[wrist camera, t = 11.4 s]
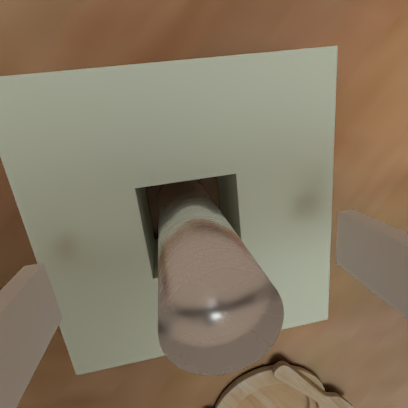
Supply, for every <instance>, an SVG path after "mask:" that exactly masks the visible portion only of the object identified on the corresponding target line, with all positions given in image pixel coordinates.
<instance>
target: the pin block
mask: <svg viewBox="0 0 408 408" xmlns="http://www.w3.org/2000/svg"><path fill="white" fill-rule="evenodd" d="M336 75H337V46H329V47H318V48H307V49H296V50H285V51H274V52H263V53H252V54H241V55H230V56H219V57H208V58H197V59H186V60H175V61H164V62H153V63H142V64H131V65H120V66H109V67H99V68H88V69H77V70H66V71H55V72H44V73H33V74H22V75H11V76H0V157H1V160H2V163H3V166H4V169H5V172H6V175H7V178H8V180H9V183H10V186H11V189H12V192H13V195H14V198H15V201H16V203H17V206H18V209H19V212H20V215H21V218H22V221H23V224H24V226H25V229H26V232H27V235H28V238H29V241H30V244H31V247H32V249H33V252H34V255H35V258H36V261H37V264H38V263H44V264H45V267H46V270H47V273H48V276H49V279H50V282H51V285H52V288H53V291H54V294H55V296H56V299H57V302H58V305H59V308H60V311H61V314H62V317H63V318H62V320H61V322H60V324H59V327H60V330H61V333H62V336H63V338H64V341H65V344H66V347H67V350H68V353H69V356H70V359H71V361H72V364H73V367H74V370H75V373H76V375H81V374H85V373H90V372H94V371H98V370H103V369H107V368H112V367H116V366H121V365H125V364H130V363H134V362H139V361H143V360H148V359H152V358H157V357H161V356H166V355H165V354H164V352H163V350H162V348H161V346H160V343H159V339H158V239H155V237H154V232H153V226H152V221H151V216H150V210H149V205H148V200H147V195H146V189H145V187H148V186H155V185H162V184H169V183H175V182H182V181H189V180H196V179H203V178H209V177H216V176H217V180H218V190H219V200H220V210H221V213H222V214H223V215H224V217H225V218H226V220H227V221H228V222H229V224H230V225H231V227H232V228H233V229H234V231H235V232H236V234H237V235H238V236H239V238H240V239H241V241H242V242H243V243H244V245H245V246H246V248H247V249H248V250H249V252H250V253H251V254H252V256H253V257H254V259H255V260H256V261H257V263H258V264H259V266H260V267H261V268H262V270H263V271H264V273H265V274H266V275H267V277H268V278H269V280H270V281H271V282H272V284H273V285H274V287H275V288H276V290H277V291H278V293H279V295H280V297H281V299H282V303H283V308H284V320H283V325H282V328H281V330H282V329H286V328H291V327H295V326H300V325H304V324H309V323H313V322H317V321H322V320H326V319H328V300H329V272H330V244H331V216H332V187H333V159H334V131H335V103H336Z"/></svg>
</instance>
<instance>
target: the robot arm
mask: <svg viewBox="0 0 408 408" xmlns="http://www.w3.org/2000/svg"><path fill="white" fill-rule="evenodd" d="M336 264H337V265H338V266H340V267H341V268H342V269H344V270H345V271H346V272H347V273H349V274H350V275H351V276H353V277H354V278H355V279H356V280H358V281H359V282H360V283H362V284H363V285H364V286H365V287H367V288H368V289H369V290H370V291H372V292H373V293H374V294H376V295H377V296H378V297H379V298H381V299H382V300H383V301H385V302H386V303H387V304H388V305H390V306H391V307H392V308H393V309H395V310H396V311H397V312H399V313H400V314H401V315H402V316H404V317H405V318H406V319H408V233H407V232H405V231H403V230H400V229H398V228H396V227H393V226H391V225H389V224H386V223H384V222H382V221H379V220H377V219H375V218H372V217H370V216H368V215H365V214H363V213H361V212H358V211H356V210H354V209H351V210H346V211H340V212H338V227H337V250H336ZM62 318H63V317H62V314H61V311H60V308H59V305H58V302H57V299H56V296H55V294H54V291H53V288H52V285H51V282H50V279H49V276H48V273H47V270H46V267H45V264H44V263H38V264H32V265H27V266H24V267H23V268H22V269H21V270H20V271H19V272H18V273H17V274H16V275H15V276H14V277H13V278H12V279H11V280H10V281H9V282H8V283H7V284H6V285H5V286H4V287H3V288H2V289H1V290H0V408H17V406H18V404H19V402H20V400H21V398H22V396H23V394H24V392H25V390H26V388H27V386H28V384H29V382H30V380H31V378H32V376H33V374H34V372H35V370H36V368H37V367H38V365H39V363H40V361H41V359H42V357H43V355H44V353H45V351H46V349H47V347H48V345H49V343H50V341H51V339H52V337H53V335H54V333H55V331H56V329H57V327H58V325H59V324H60V322H61V320H62Z"/></svg>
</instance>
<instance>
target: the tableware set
mask: <svg viewBox="0 0 408 408" xmlns="http://www.w3.org/2000/svg"><path fill="white" fill-rule="evenodd" d="M352 407H353V406H352V405H351V404H350V403H349V402H348V401H347V400H346V399H344V398H343V397H342V396H340V395H339V394H337V393H335V392H325V389H324V387H323V385H322V383H321V382H320V380H319V379H318V378H317V377H316V376H315V375H314V374H313V373H311V372H310V371H308V370H306V369H304V368H302V367H298V366H294V365H290V364H288V363H287V362H285V361H279V362H277V363H276V364H274V365H270V366H265V367H261V368H258V369H255V370H252V371H250V372H248V373H246V374H244V375H242V376H241V377H239V378H237V379H236V380H235V381H234V382H233V383H231V384H230V385H229V386H228V387H227V389H226V390H225V391H224V392H223V393H222V395H221V396H220V398H219V399H218V401H217V403H216V405H215V408H352Z"/></svg>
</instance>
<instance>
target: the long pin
mask: <svg viewBox="0 0 408 408" xmlns="http://www.w3.org/2000/svg"><path fill="white" fill-rule="evenodd" d="M283 320H284V308H283V303H282V299H281V297H280V295H279V293H278V291H277V290H276V288H275V287H274V285H273V284H272V282H271V281H270V280H269V278H268V277H267V275H266V274H265V273H264V271H263V270H262V268H261V267H260V266H259V264H258V263H257V261H256V260H255V259H254V257H253V256H252V254H251V253H250V252H249V250H248V249H247V248H246V246H245V245H244V243H243V242H242V241H241V239H240V238H239V236H238V235H237V234H236V232H235V231H234V229H233V228H232V227H231V225H230V224H229V222H228V221H227V220H226V218H225V217H224V215H223V214H222V213H221V211H220V210H219V208H218V207H217V206H216V204H215V203H214V201H213V200H212V199H211V197H210V196H209V194H208V193H207V192H206V190H205V189H204V187H203V186H202V185H201V184H200V183H199V182H198V181H196V180H189V181H182V182H175V183H169V184H166V185H165V186H164V187H163V188H162V190H161V192H160V195H159V202H158V339H159V343H160V346H161V348H162V350H163V352H164V354H165V355H166V357H167V358H168V359H169V360H170V361H171V362H172V363H173V364H174V365H176V366H177V367H179V368H180V369H182V370H184V371H187V372H189V373H192V374H196V375H203V376H219V375H225V374H230V373H233V372H236V371H239V370H241V369H244V368H246V367H248V366H249V365H251V364H253V363H254V362H256V361H257V360H258V359H260V358H261V357H262V356H263V355H264V354H265V353H266V352H267V351H268V350H269V349H270V348H271V347H272V345H273V344H274V343H275V341H276V339H277V338H278V336H279V333H280V331H281V328H282V325H283Z"/></svg>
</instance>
